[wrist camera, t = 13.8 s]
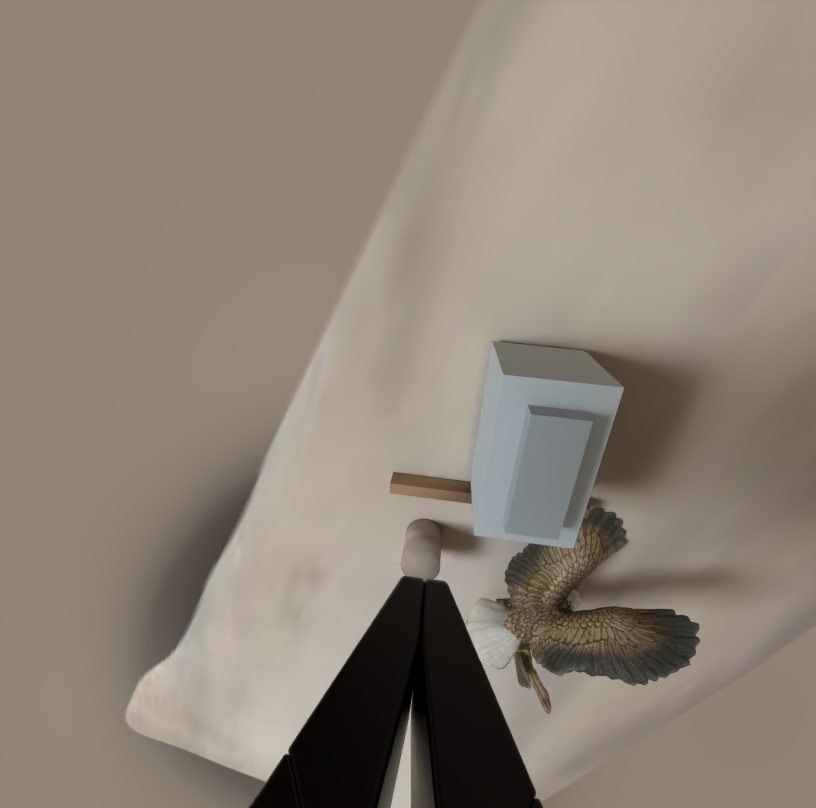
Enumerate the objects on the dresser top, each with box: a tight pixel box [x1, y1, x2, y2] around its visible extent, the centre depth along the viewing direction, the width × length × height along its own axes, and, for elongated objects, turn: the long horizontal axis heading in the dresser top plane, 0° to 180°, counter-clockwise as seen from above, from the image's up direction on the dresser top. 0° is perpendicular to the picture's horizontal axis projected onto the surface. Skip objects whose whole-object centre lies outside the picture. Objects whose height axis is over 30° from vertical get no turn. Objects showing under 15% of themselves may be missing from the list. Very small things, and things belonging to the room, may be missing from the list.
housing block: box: [470, 341, 624, 549], centre depth 17 cm, size 4×7×5 cm, turn 175°
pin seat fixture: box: [390, 473, 590, 582], centre depth 21 cm, size 10×19×2 cm, turn 175°
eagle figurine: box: [466, 508, 700, 714], centre depth 20 cm, size 8×7×9 cm
